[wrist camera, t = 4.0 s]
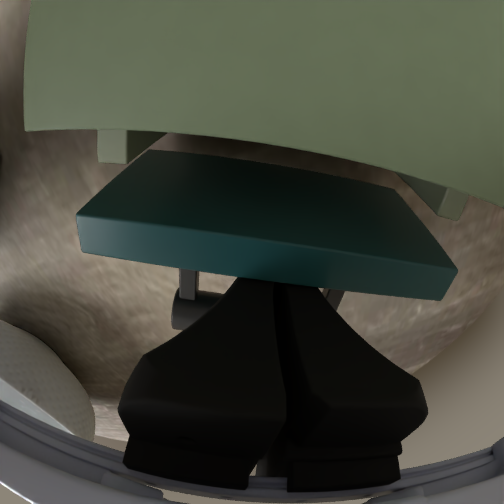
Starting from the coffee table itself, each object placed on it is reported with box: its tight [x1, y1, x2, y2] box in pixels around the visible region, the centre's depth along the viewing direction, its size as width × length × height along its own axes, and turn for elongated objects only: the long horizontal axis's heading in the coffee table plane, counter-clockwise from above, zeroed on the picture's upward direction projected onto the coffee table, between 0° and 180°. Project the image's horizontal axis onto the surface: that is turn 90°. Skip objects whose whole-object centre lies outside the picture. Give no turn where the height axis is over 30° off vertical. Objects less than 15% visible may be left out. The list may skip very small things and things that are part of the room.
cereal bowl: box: [0, 320, 95, 442], centre depth 20 cm, size 17×17×7 cm
